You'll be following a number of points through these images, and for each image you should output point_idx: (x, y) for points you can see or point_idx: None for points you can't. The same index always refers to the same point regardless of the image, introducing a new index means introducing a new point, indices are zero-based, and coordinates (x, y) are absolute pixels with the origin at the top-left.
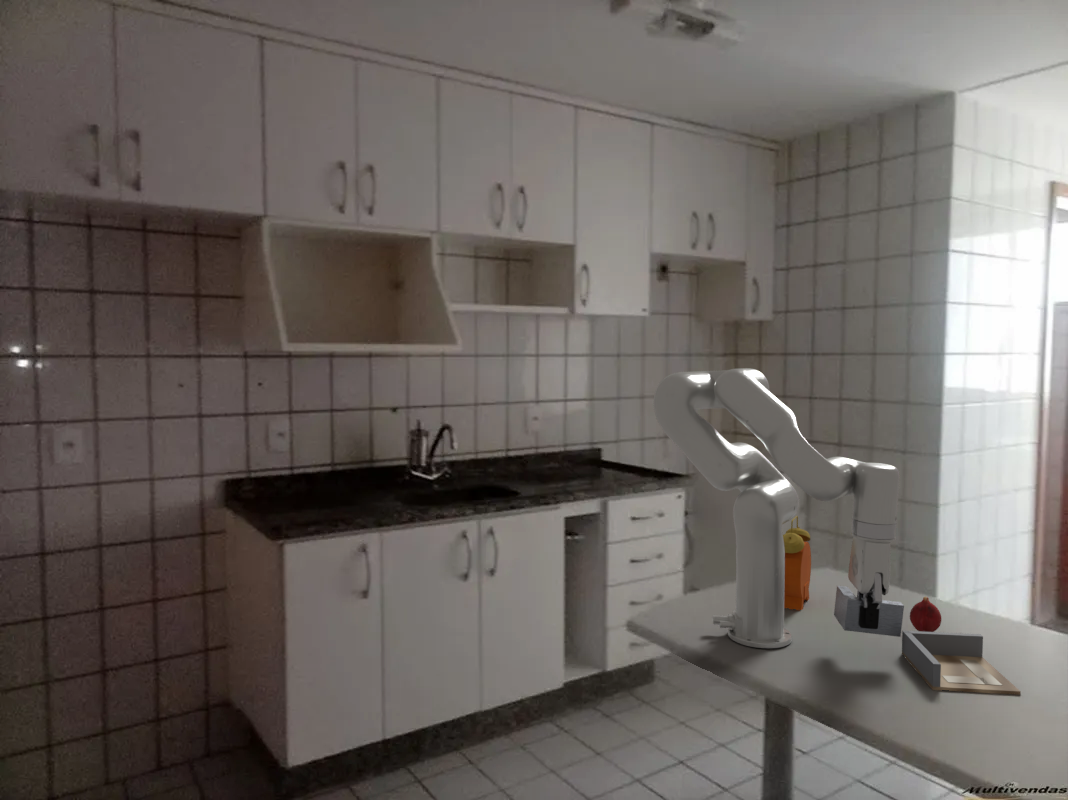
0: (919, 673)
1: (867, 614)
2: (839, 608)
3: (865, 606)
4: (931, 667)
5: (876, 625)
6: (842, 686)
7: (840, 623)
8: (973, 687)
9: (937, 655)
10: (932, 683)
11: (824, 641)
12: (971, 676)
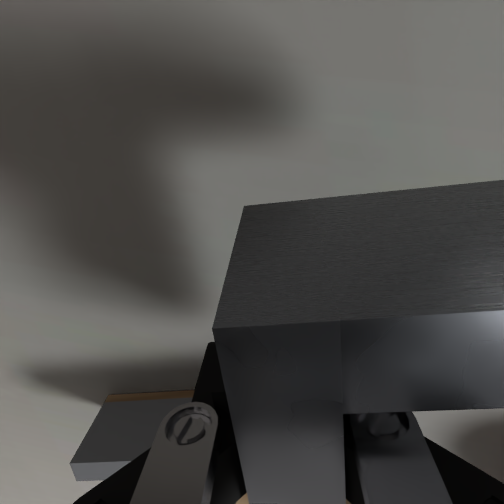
0: None
1: (199, 390)
2: (436, 221)
3: (162, 428)
4: (94, 445)
5: None
6: (14, 134)
7: (346, 197)
8: None
9: None
10: (103, 408)
11: (501, 117)
12: None
